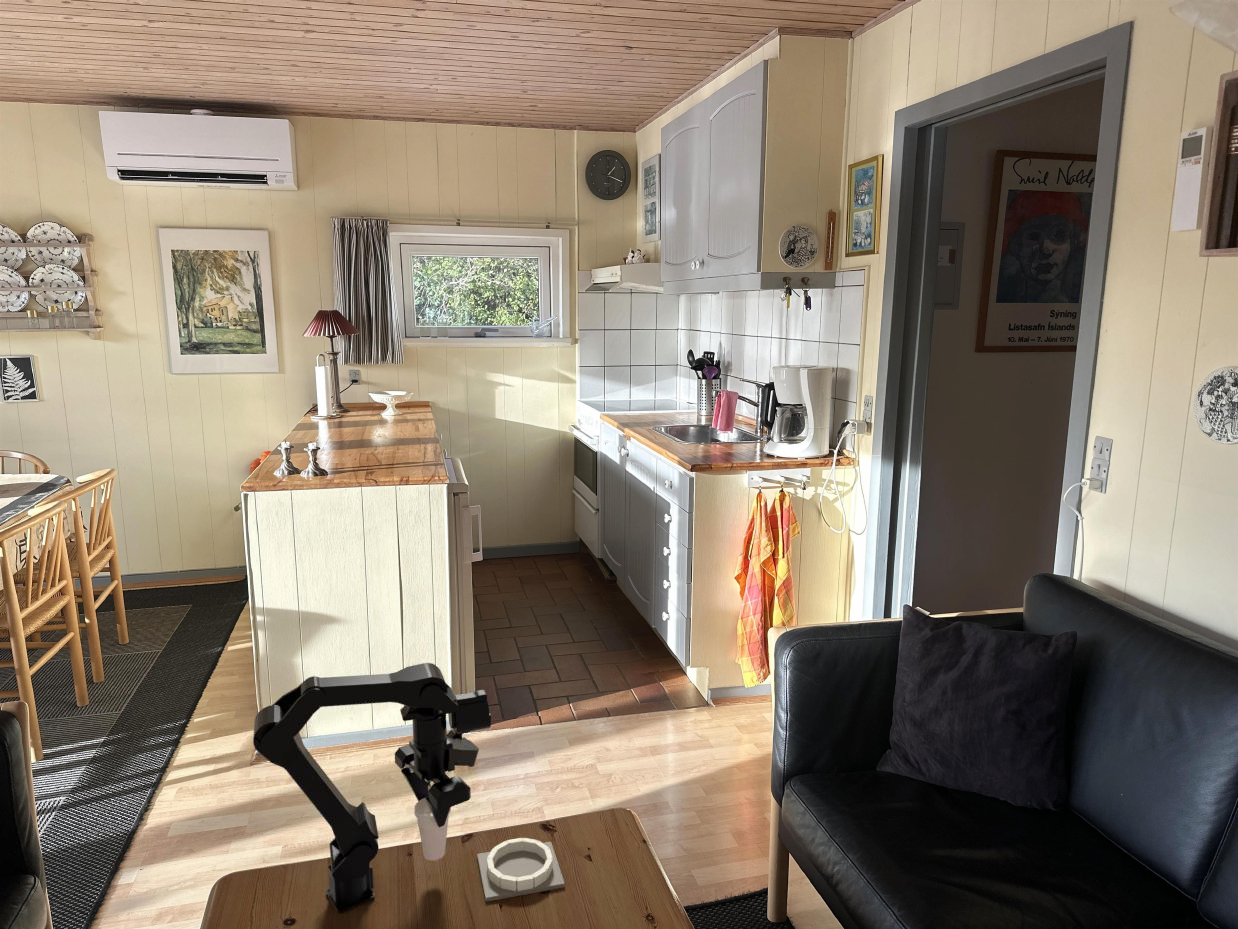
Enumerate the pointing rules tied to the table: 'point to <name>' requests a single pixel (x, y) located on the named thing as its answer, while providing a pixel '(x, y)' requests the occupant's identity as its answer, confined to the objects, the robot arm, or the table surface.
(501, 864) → the socket board
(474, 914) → the table surface
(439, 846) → the smoothie
